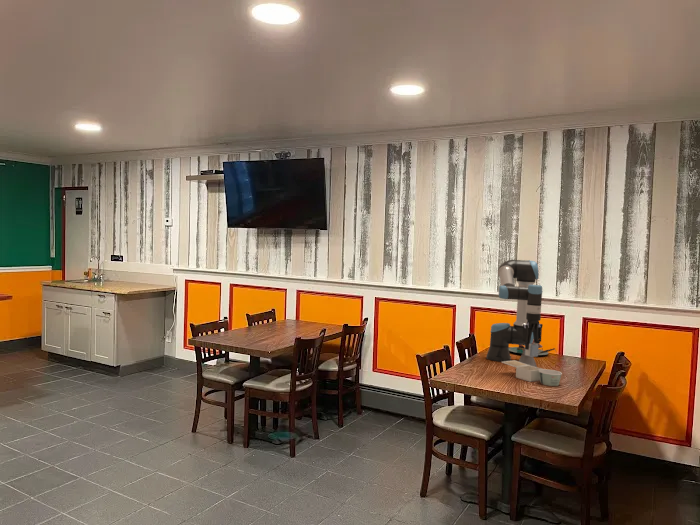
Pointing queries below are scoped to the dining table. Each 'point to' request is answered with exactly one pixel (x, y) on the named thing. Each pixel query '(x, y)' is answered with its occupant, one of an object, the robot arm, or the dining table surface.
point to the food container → (550, 377)
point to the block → (533, 350)
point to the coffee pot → (530, 358)
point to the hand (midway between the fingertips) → (531, 354)
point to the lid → (514, 363)
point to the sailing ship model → (519, 349)
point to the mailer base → (528, 373)
